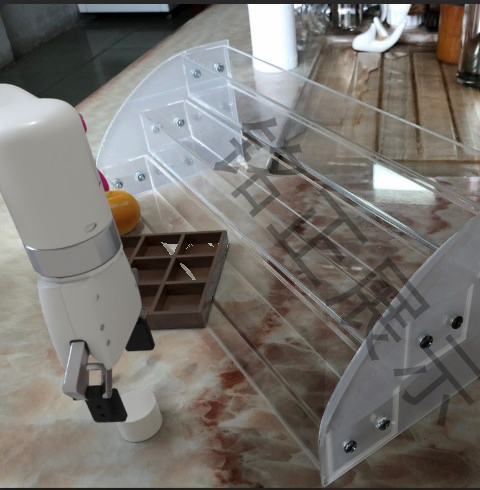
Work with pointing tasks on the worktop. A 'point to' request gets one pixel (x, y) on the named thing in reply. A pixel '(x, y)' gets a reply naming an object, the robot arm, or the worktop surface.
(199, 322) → the board
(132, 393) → the white cylinder puck
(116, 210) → the fruit
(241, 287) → the worktop surface
